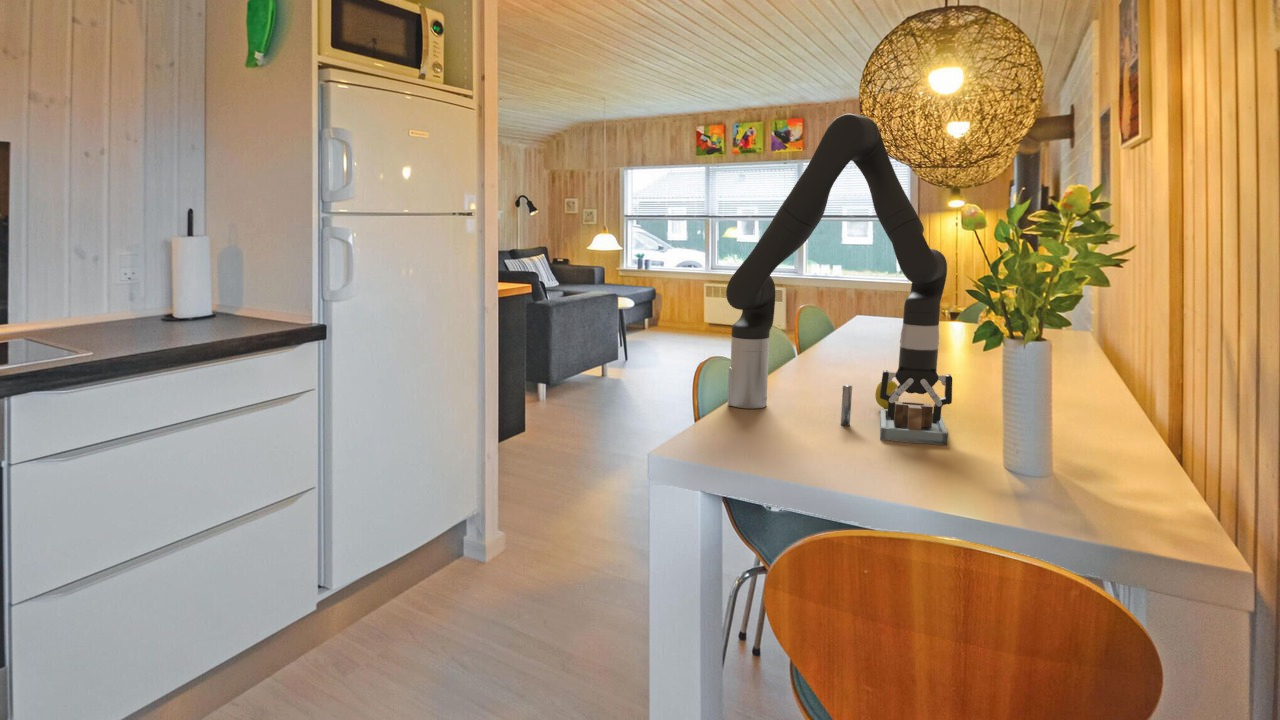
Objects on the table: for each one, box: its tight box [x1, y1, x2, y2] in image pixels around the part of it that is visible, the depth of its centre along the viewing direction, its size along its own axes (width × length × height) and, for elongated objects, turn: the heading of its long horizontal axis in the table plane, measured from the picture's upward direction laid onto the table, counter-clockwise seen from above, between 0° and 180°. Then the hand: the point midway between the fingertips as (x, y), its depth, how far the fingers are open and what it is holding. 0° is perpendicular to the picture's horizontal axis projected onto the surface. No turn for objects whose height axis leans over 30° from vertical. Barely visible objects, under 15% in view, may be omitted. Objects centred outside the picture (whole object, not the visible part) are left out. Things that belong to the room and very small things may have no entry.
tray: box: [879, 408, 949, 446], centre depth 161 cm, size 13×18×2 cm
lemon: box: [875, 380, 900, 409], centre depth 180 cm, size 6×6×8 cm
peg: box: [840, 384, 853, 427], centre depth 166 cm, size 2×2×9 cm
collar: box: [893, 400, 934, 430], centre depth 160 cm, size 8×14×4 cm, turn 163°
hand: (913, 420), depth 157 cm, fingers open, 8 cm apart
